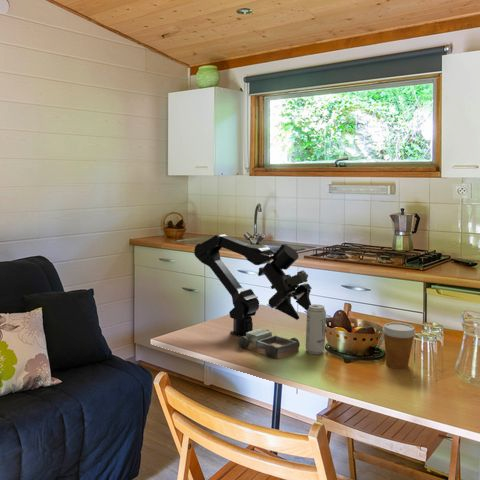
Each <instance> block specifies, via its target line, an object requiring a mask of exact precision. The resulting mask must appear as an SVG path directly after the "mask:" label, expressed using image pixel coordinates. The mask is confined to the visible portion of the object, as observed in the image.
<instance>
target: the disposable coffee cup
mask: <svg viewBox="0 0 480 480" xmlns="http://www.w3.org/2000/svg"><path fill="white" fill-rule="evenodd" d="M382 329H383V332H384V340H383V341H384V351H385V364H386V366H387V367H390V368H392V369H397V370H398V369H399V370H400V369H401V370H402V369H407V368H408V367H409V363H410V356H411V351H412V347H413V346H412V345H413V341H414V336H415V335H416V331H415V327H414V326H413V325H411V324H408V323H403V322H388V323H385V324H384V325H383V328H382Z"/></svg>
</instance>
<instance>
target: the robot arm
mask: <svg viewBox="0 0 480 480" xmlns="http://www.w3.org/2000/svg"><path fill="white" fill-rule="evenodd" d="M222 249H226V250H227V251H228V250H229V251H231V252H233V253H236V254H237V255H241V256H242V257H245V258H246V260H247V261H248V262H250V263H251V264H252V265H254V266H261V265H264V266H262V267H259V268H258V272H257V275H258V277H261V276H265V278H266V279H267V280H268V281H269V282H270V284H271V286H270V288H271V290H274V289H275V291H276V293H274V294H273V295H272V296H271V297H269V299H268V305H269V308H271V309H275V310H277V311H279V312H281V313H283V314H286V315H287V316H289V317H290V318H293V319H295V320H296V321H298V320H299V319H300V315H299V314H298V312H297V311H296V309H295V307H294V306H293V304H292V301H291V299H292V298H293V300H296V301H295V303H297V304H298V306H300V307H302V308H303V309H304V310H305V311H307V310H308V308H309V305H312V303H311V300H310V294H311V292H312V286H311V285H310V284H309V283H308V278H309V275H308V274H309V273H307V272H306V271H305V270H299V271H297V273H296V274H294V275H292V276H291V274H286V273H285V272H284V270H288V269H290V267H291V266H292V265H293V264H294V263H295V262H296V261H297V260H299V254H298V252H297V250H295V249H294V248H293V247H291V246H288V244H287V243H283V244H281V245H280V246H279V248H278V249H277V250H276V251H274V250H272V248H270V247H269V246H266V245H265V246H264V245H255V244H249V243H247V242H245V241H242V240H239V239H237V238H234V237H232V236H229V235H227V234H225V233H221V234H215V235H214V236H212V237H211V238H209V239H207V240H205V241H204V242H203V241H202V242H201V243H197V244H196V245H195V247H194V253H193V255H194V256H195V258H196V259H197V260H198V261H199V262H200V263H201V264H204V265H205V266H207V267H209V268H210V270H211V271H212V273H214V275H215V276H216V277H217V279H218V281H220V282H221V284H222V285H223V286H224V288H225V290H226V291H227V292H228V293H229V294H230V297H231V301H232V305H233V306H234V307H233V308H232V309H231V310H230V311H229V312H228V314H229V317H230V318H231V319H233V328H232V329H233V330H232V331H230V332H229V333H230V334H232V335H235V336H238V337H239V338H240V337H242V336H246V332H250V331H253V330H254V329H253V328H254V326H253V325H254V323H253V316H256V314H257V311H258V310H259V308H260V301H259V299H258V296H257V295H256V294H255V293H254V290H253V289H252V288H248V289H245V288H244V287H243V286H242V285H241V284H240V282H239V281H238V280H237V278H236V277H235V276H234V275H233V274H232V272H231V270H230V269H229V268H228V267H227V266H226V265H225V263H224V262H223V261H222V259H221V253H220V250H222Z"/></svg>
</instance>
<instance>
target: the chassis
mask: <svg viewBox="0 0 480 480" xmlns="http://www.w3.org/2000/svg"><path fill="white" fill-rule="evenodd" d="M237 344H238V346H239V347H240V348H241V349H247V350H250V351H253V352H257V353H260V354H262V355H264V356H265V355H266V357H268V358H270V359H272V358H273V359H277V360H280V359H283V358H285V357H288V356H291V355H294V354H296V353H299V352H300V346H301V345H300V340H299V339H298V338H296V337H292V338H287V337H283V336H280V335H276V334H274V335H273V333H272V331H271V330H270V329H263V328H257V329H253V331H250V332H246V336H242V337H240V336H239V338H238V342H237Z"/></svg>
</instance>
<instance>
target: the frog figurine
mask: <svg viewBox="0 0 480 480" xmlns="http://www.w3.org/2000/svg"><path fill="white" fill-rule="evenodd" d="M384 341H385V340H384V332H383V333H382V336H381V338H380V340H379V343H378V345H377V348H376V349H378V348H380V347H381V346H382V344H383V342H384Z"/></svg>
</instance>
